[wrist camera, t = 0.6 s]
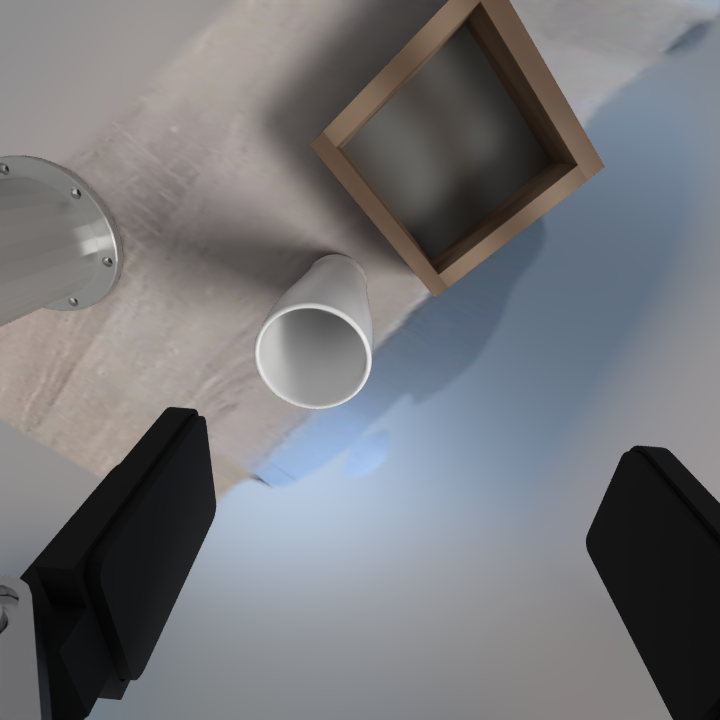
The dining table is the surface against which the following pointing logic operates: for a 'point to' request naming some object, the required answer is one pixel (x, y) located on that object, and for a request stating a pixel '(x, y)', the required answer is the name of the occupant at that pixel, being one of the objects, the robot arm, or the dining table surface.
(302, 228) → the dining table surface
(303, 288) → the drinking glass
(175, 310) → the dining table surface
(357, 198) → the caddy
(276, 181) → the dining table surface
